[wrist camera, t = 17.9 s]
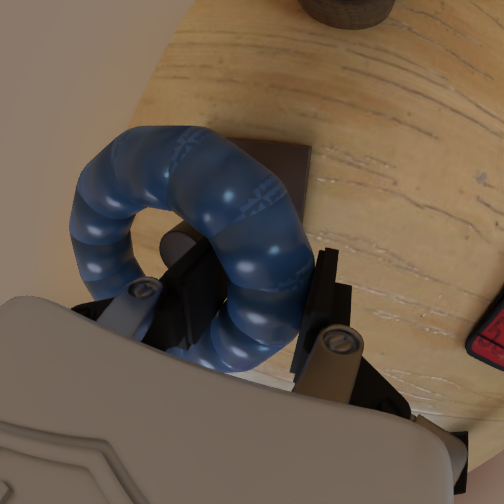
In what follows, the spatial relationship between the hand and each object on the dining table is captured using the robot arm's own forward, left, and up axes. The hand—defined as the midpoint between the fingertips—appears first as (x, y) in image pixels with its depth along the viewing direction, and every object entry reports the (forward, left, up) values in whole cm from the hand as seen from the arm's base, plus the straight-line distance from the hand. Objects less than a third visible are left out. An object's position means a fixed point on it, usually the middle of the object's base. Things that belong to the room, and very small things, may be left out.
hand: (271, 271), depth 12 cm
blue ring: (0, -4, +1) cm, 4 cm away
